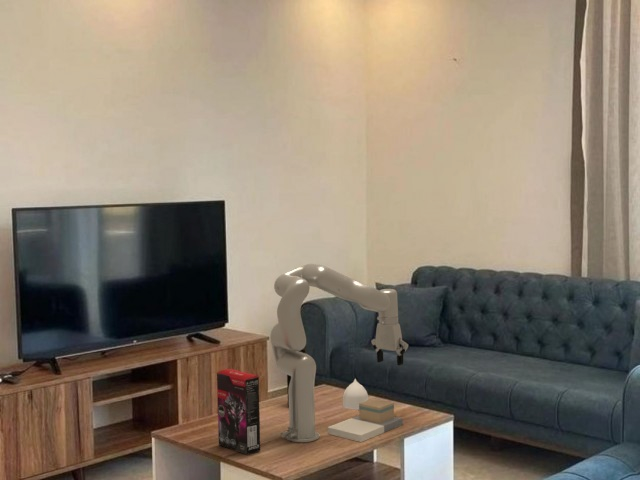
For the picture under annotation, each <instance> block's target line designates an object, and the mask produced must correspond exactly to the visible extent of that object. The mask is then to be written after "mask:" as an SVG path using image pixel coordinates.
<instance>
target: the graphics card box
mask: <svg viewBox="0 0 640 480" xmlns="http://www.w3.org/2000/svg"><path fill="white" fill-rule="evenodd" d="M259 379H260V376H259V375H257V374H252V373H249V372H245V371H241V370H236V369H232V368H227V369H222V370H219V371H218V372H216V383H217V384H216V387H217V388H216V389H217V392H216V395H217V421H218V423H217V424H218V425H217V426H218V427H217V428H218V429H217V430H218V446H222V447H225V448H227V449H230V450H233V451H237V452H238V453H242V454H244V455H250V454H253V453H257V452H260V451H261V424H260V423H261V421H260V419H261V418H260V416H261V415H260V385H259V384H260V382H259V381H260V380H259Z"/></svg>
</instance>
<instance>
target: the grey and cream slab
mask: <svg viewBox="0 0 640 480" xmlns="http://www.w3.org/2000/svg"><path fill="white" fill-rule="evenodd" d="M403 421H404V420H403V417H399V416H394V418H393V419H390V420H388V421H385V422H383V423H376V422H371V421H367V420H363V419H359V414H358V415H356V416H353V417H351V418H348V419H346V420H343V421H340V422H337V423H335V424H332V425H330V426H327V428H326V429H327V431H326V432H327V434H328V435H332V436H336V437H339V438H343V439H347V440H351V441H355V442H358V443H362V442H365V441H368V440H370V439H372V438H375V437H377V436H380V435H382V434H384V433H386V432H389V431H391V430H394V429H396V428H398V427H401V426H403V425H404V424H403V423H404V422H403Z"/></svg>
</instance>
